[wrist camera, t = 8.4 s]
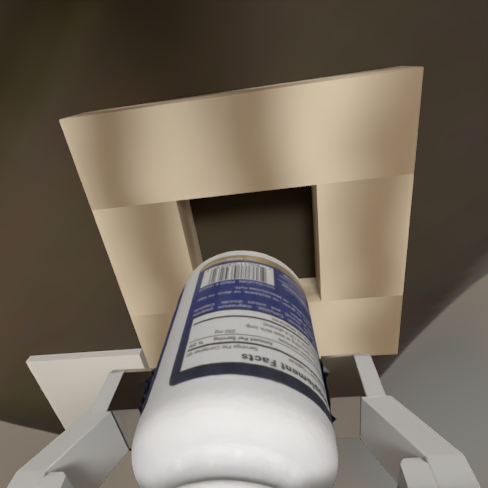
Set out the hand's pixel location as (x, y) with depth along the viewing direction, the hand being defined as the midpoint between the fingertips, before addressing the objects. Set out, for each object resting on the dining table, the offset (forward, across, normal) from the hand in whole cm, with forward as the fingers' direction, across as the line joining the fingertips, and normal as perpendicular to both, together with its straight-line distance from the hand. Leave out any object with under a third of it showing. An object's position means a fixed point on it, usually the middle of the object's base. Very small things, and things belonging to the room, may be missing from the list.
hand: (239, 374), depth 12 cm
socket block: (+11, 0, 0) cm, 11 cm away
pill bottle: (+4, 0, 0) cm, 4 cm away
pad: (+11, +14, +13) cm, 22 cm away
